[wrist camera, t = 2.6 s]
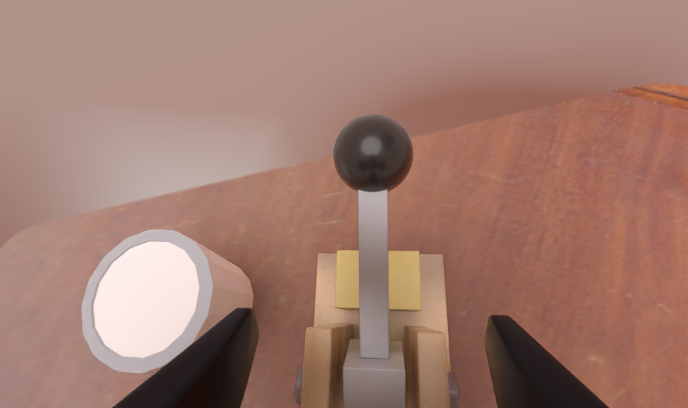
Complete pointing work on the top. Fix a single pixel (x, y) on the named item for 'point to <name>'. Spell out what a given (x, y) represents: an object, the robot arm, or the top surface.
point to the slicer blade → (373, 258)
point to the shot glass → (157, 299)
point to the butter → (400, 280)
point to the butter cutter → (409, 327)
